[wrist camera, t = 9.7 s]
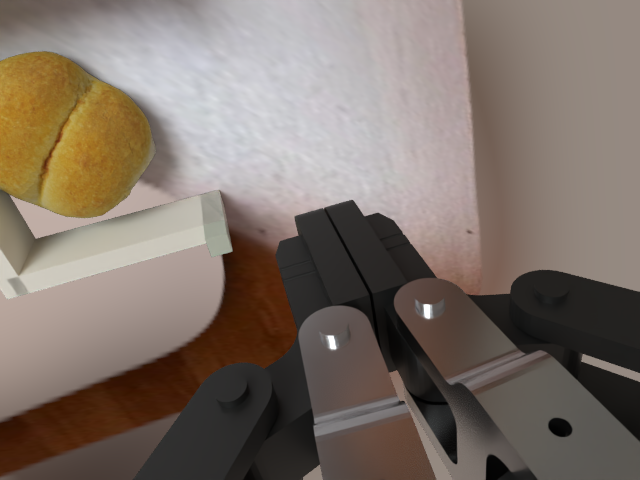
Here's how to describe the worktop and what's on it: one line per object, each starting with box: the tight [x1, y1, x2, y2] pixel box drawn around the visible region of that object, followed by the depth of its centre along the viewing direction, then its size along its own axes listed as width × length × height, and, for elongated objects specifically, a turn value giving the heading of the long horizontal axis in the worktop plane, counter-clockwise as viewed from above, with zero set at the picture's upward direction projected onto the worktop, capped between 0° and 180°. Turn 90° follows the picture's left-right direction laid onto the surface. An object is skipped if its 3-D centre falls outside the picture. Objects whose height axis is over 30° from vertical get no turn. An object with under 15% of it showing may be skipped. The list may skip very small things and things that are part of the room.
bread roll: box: [0, 51, 156, 218], centre depth 26 cm, size 8×9×4 cm
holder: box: [0, 189, 232, 299], centre depth 24 cm, size 15×13×6 cm
